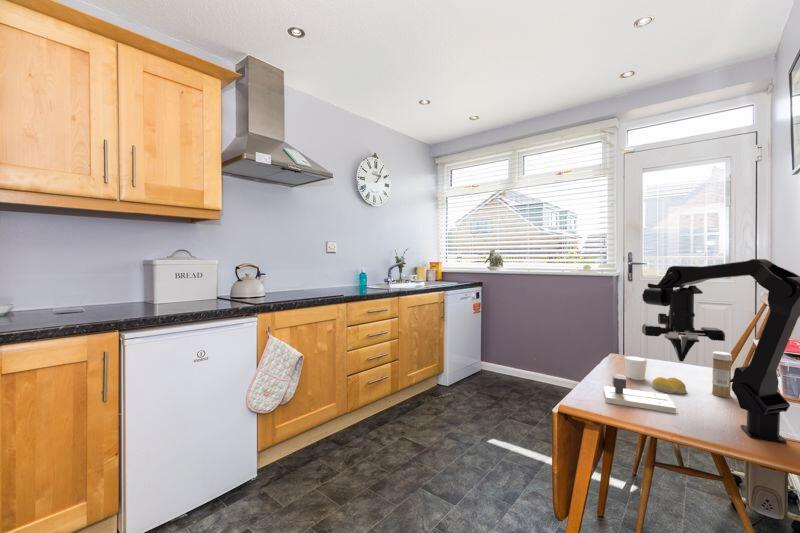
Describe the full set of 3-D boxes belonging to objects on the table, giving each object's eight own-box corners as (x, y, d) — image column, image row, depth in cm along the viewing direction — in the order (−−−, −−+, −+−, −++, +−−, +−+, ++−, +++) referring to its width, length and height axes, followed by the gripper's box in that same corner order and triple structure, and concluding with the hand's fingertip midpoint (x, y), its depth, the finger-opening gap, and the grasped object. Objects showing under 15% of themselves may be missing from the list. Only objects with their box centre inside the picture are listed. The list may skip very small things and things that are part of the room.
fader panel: (676, 413, 102) (676, 407, 102) (606, 402, 109) (606, 397, 109) (667, 399, 112) (667, 394, 112) (603, 390, 119) (603, 385, 119)
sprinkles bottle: (732, 395, 115) (734, 353, 115) (727, 399, 112) (729, 355, 112) (714, 391, 119) (715, 350, 118) (709, 394, 116) (710, 352, 116)
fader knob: (625, 395, 110) (626, 379, 110) (613, 393, 111) (613, 377, 111) (624, 390, 114) (624, 375, 114) (612, 388, 115) (612, 373, 115)
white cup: (627, 379, 130) (627, 359, 130) (621, 373, 137) (622, 354, 136) (649, 381, 128) (649, 361, 128) (642, 375, 135) (643, 356, 134)
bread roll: (648, 384, 126) (648, 373, 126) (679, 387, 123) (679, 375, 123) (657, 393, 118) (657, 380, 118) (690, 396, 115) (691, 383, 115)
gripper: (711, 306, 112) (710, 357, 112) (638, 303, 119) (638, 351, 119) (726, 311, 101) (725, 367, 102) (646, 307, 109) (645, 360, 109)
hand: (680, 361), depth 108 cm, fingers closed
